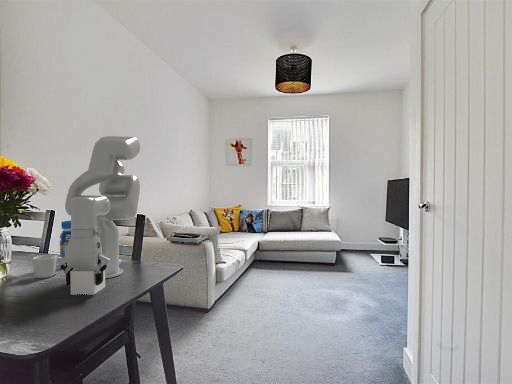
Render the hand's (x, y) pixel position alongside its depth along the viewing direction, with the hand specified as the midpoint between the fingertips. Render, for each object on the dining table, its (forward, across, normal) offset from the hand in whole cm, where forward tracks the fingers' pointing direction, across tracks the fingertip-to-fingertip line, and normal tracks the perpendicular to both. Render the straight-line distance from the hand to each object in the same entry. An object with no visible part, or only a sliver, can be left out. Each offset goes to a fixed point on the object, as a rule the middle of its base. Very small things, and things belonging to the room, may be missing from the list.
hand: (84, 284), depth 103 cm
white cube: (+3, 0, -2) cm, 4 cm away
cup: (+3, +25, -19) cm, 32 cm away
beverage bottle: (+3, +26, -35) cm, 44 cm away
